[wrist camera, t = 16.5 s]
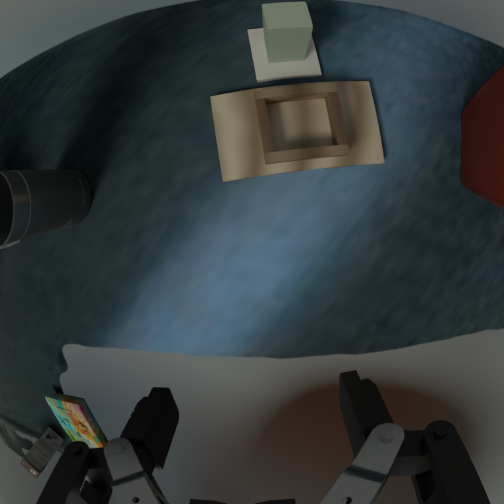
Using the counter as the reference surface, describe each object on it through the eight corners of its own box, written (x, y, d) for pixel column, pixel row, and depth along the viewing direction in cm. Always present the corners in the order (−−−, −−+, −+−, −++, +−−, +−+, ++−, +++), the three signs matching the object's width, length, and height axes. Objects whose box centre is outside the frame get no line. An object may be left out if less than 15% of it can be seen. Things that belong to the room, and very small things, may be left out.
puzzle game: (76, 407, 46) (112, 463, 50) (86, 395, 51) (118, 451, 55) (43, 398, 47) (78, 453, 51) (52, 388, 52) (85, 442, 56)
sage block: (268, 63, 34) (267, 29, 24) (264, 41, 33) (261, 4, 23) (304, 60, 33) (313, 26, 24) (298, 38, 32) (305, 1, 23)
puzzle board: (224, 181, 39) (218, 181, 34) (212, 99, 36) (205, 90, 32) (380, 163, 37) (393, 161, 32) (365, 84, 34) (375, 74, 30)
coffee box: (58, 447, 59) (36, 478, 43) (43, 433, 58) (19, 464, 42) (65, 440, 57) (40, 474, 41) (48, 425, 56) (22, 458, 40)
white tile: (257, 82, 35) (257, 80, 34) (247, 32, 33) (247, 29, 33) (320, 76, 34) (321, 74, 34) (307, 26, 32) (308, 24, 32)
